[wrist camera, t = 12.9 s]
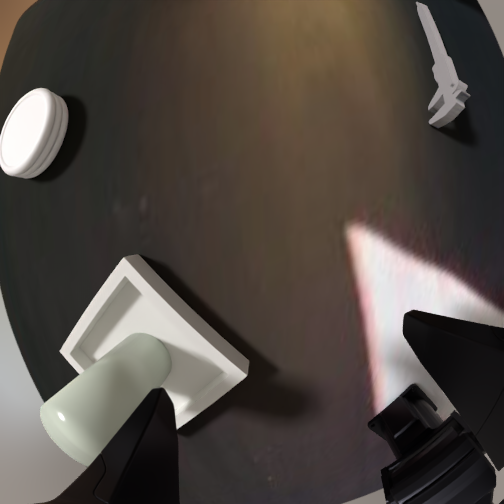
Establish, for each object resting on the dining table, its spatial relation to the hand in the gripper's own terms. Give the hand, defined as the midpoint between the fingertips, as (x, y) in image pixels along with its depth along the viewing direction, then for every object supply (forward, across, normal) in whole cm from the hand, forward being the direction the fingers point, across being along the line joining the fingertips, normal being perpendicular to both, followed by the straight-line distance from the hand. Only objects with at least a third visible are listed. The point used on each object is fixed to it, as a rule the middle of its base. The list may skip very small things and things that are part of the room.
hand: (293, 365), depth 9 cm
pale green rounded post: (+13, +11, +7) cm, 18 cm away
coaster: (+21, +19, -17) cm, 33 cm away
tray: (+13, +11, +7) cm, 19 cm away
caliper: (+14, -24, -16) cm, 33 cm away
